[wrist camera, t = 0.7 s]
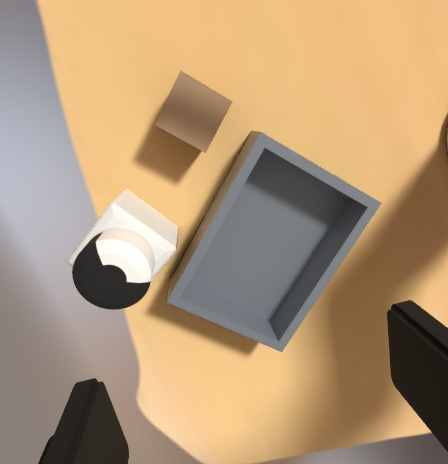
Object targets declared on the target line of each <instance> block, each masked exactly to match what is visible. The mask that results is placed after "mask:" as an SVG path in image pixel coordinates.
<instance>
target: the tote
mask: <svg viewBox="0 0 448 464" xmlns="http://www.w3.org/2000/svg"><path fill="white" fill-rule="evenodd" d="M380 205H381V202H379V201H377V200H375V199H374V198H372V197H370V196H369V195H367V194H365V193H364V192H362V191H360V190H358V189H357V188H355V187H353V186H352V185H350V184H348V183H347V182H345V181H343V180H341V179H340V178H338V177H336V176H335V175H333V174H331V173H330V172H328V171H326V170H324V169H323V168H321V167H319V166H318V165H316V164H314V163H313V162H311V161H309V160H308V159H306V158H304V157H302V156H301V155H299V154H297V153H296V152H294V151H292V150H291V149H289V148H287V147H285V146H284V145H282V144H280V143H279V142H277V141H275V140H274V139H272V138H270V137H268V136H267V135H265V134H263V133H262V132H257V131H251V133H250V135H249V137H248V138H247V140H246V142H245V144H244V146H243V147H242V149H241V151H240V153H239V155H238V157H237V158H236V160H235V162H234V164H233V166H232V168H231V169H230V171H229V173H228V175H227V177H226V179H225V180H224V182H223V184H222V186H221V188H220V190H219V191H218V193H217V195H216V197H215V199H214V201H213V202H212V204H211V206H210V208H209V210H208V212H207V213H206V215H205V217H204V219H203V221H202V223H201V224H200V226H199V228H198V230H197V232H196V234H195V235H194V237H193V239H192V241H191V243H190V245H189V246H188V248H187V250H186V252H185V254H184V255H183V257H182V259H181V261H180V263H179V265H178V266H177V268H176V270H175V272H174V274H173V276H172V277H171V279H170V281H169V289H168V296H167V303H169V304H171V305H174V306H176V307H178V308H181V309H183V310H185V311H188V312H190V313H192V314H195V315H197V316H199V317H202V318H204V319H206V320H209V321H211V322H213V323H215V324H218V325H220V326H222V327H225V328H227V329H229V330H232V331H234V332H236V333H239V334H241V335H243V336H246V337H248V338H250V339H253V340H255V341H257V342H260V343H262V344H264V345H266V346H269V347H271V348H273V349H276V350H278V351H280V352H282V351H283V349H284V348H285V346H286V345H287V343H288V342H289V340H290V339H291V338H292V336H293V335H294V333H295V332H296V330H297V329H298V327H299V326H300V324H301V323H302V321H303V320H304V318H305V317H306V315H307V314H308V312H309V311H310V309H311V308H312V306H313V305H314V303H315V302H316V300H317V299H318V297H319V296H320V294H321V293H322V291H323V290H324V288H325V287H326V285H327V284H328V282H329V281H330V279H331V278H332V276H333V275H334V273H335V272H336V270H337V269H338V267H339V266H340V264H341V263H342V261H343V260H344V258H345V257H346V255H347V254H348V252H349V251H350V249H351V248H352V247H353V245H354V244H355V242H356V241H357V239H358V238H359V236H360V235H361V233H362V232H363V230H364V229H365V227H366V226H367V224H368V223H369V221H370V220H371V218H372V217H373V215H374V214H375V212H376V211H377V209H378V208H379V206H380Z"/></svg>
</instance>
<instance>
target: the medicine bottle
mask: <svg viewBox="0 0 448 464" xmlns="http://www.w3.org/2000/svg"><path fill="white" fill-rule="evenodd" d="M178 230H179V228H178V226H177V225H175V224H174V223H172V222H171V221H170V220H168V219H167V218H166V217H164V216H163V215H162V214H160V213H159V212H157V211H156V210H155V209H153V208H152V207H151V206H149V205H148V204H147V203H145V202H144V201H142V200H141V199H140V198H138V197H137V196H136V195H134V194H133V193H132V192H130V191H129V190H127V189H124V190H123V191H122V192H121V193H120V194H119V195H118V196H117V197H116V198H115V199H114V200H113V201H112V202H111V203H110V204H109V205H108V207H107V208H106V209H105V211H104V212H103V213H102V215H101V216H100V217H99V219H98V220H97V221H96V223H95V224H94V225H93V227H92V228H91V229H90V231H89V232H88V233H87V235H86V236H85V237H84V239H83V240H82V242H81V243H80V244H79V246H78V247H77V248H76V249H75V251H74V252H73V254H72V255H71V256H70V257H69V259H68V263H69V264H70V265H71V266H73V271H72V274H73V280H74V284H75V286H76V288H77V290H78V291H79V293H80V294H81V295H82V296H83V297H84V298H85V299H86V300H87V301H89V302H90V303H92V304H94V305H96V306H98V307H101V308H105V309H122V308H127V307H129V306H132V305H134V304H135V303H137V302H138V301H139V300H141V299H142V298H143V296H144V295H145V294H146V292H147V291H148V288H149V286H150V282H151V281H152V279H153V278H154V277H155V276H156V275H157V273H158V272H159V271H160V270H161V268H162V267H163V266H164V265H165V264H166V262H167V261H168V260H169V259H170V257H171V256H172V255H173V254H174V253H175V251H176V249H177V240H178Z"/></svg>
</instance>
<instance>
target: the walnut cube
mask: <svg viewBox="0 0 448 464" xmlns="http://www.w3.org/2000/svg"><path fill="white" fill-rule="evenodd" d="M231 103H232V101H231V100H229V99H227V98H226V97H224V96H222V95H221V94H219V93H217V92H216V91H214V90H212V89H211V88H209V87H207V86H206V85H204V84H202V83H201V82H199V81H197V80H196V79H194V78H192V77H191V76H189V75H187V74H186V73H184V72H182V71H180V73H179V75H178V77H177V80H176V82H175V84H174V86H173V88H172V90H171V92H170V94H169V96H168V98H167V100H166V103H165V105H164V107H163V109H162V111H161V113H160V115H159V117H158V119H157V121H156V124H155V126H157V127H159V128H161V129H163V130H165V131H166V132H168V133H170V134H172V135H174V136H175V137H177V138H179V139H181V140H183V141H184V142H186V143H188V144H190V145H192V146H194V147H195V148H197V149H199V150H201V151H203V152H204V153H206V151H207V149H208V147H209V145H210V143H211V141H212V140H213V138H214V136H215V134H216V132H217V130H218V128H219V126H220V124H221V122H222V120H223V119H224V117H225V115H226V113H227V111H228V109H229V107H230V105H231Z"/></svg>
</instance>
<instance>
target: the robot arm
mask: <svg viewBox="0 0 448 464" xmlns="http://www.w3.org/2000/svg"><path fill="white" fill-rule="evenodd" d="M447 150H448V130H447ZM387 320H388V336H389V351H390V367H391V378H392V381H393V384H394V385H395V387H396V389H397V390H398V391H399V392H400V394H401V395H402V396H403V397H404V398H405V400H406V401H407V402H408V403H409V405H410V406H411V407H412V408H413V410H414V411H415V412H416V413H417V414H418V416H419V417H420V418H421V419H422V421H423V422H424V423H425V424H426V426H427V427H428V428H429V429H430V431H431V432H432V433H433V434H434V435H435V436H436V438H437V439H438V440H439V442H440V443H441V444H442V445H443V446H444V448H445V449H446V450H447V451H448V328H447V327H446V326H444V325H443V324H442V323H440V322H439V321H438V320H436V319H435V318H434V317H433V316H431V315H430V314H429V313H427V312H426V311H425V310H423V309H422V308H421V307H420V306H418V305H417V304H416V303H414V302H413V301H411V300H408V301H404V302H400V303H396V304H393V305H392V306H391V310H388V312H387ZM128 458H129V449H128V444H127V442H126V439H125V437H124V434H123V432H122V429H121V426H120V424H119V421H118V419H117V416H116V413H115V411H114V408H113V406H112V403H111V400H110V398H109V395H108V393H107V390H106V387H105V385H104V383H103V382H98V381H97V380H96V379H90V380H86V381H82V382H78V383H76V384H75V386H74V388H73V390H72V392H71V395H70V397H69V400H68V402H67V404H66V407H65V409H64V412H63V414H62V417H61V419H60V422H59V424H58V427H57V429H56V431H55V434H54V435H53V436H52V437H51V438H50V439H49V440H48V442H47V444H46V447H45V449H44V451H43V454H42V456H41V458H40V461H39V463H38V464H128Z"/></svg>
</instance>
